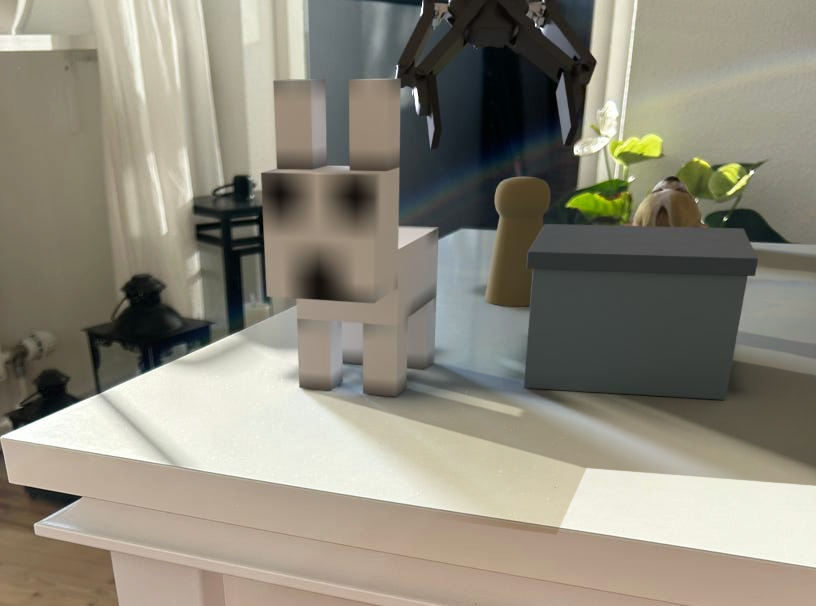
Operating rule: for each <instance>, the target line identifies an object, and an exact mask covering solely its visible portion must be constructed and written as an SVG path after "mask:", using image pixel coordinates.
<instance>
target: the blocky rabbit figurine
mask: <svg viewBox="0 0 816 606" xmlns="http://www.w3.org/2000/svg"><path fill="white" fill-rule="evenodd" d="M272 82H273V106H274V108H273V109H274V131H275V154H276V168H274V169H270V170H266V171H262V172H260V176H261V177H260V180H261V201H262V203H261V204H262V222H263V223H262V224H263V243H264V266H265V267H264V268H265V285H266V289H265V290H266V298H267V297H268V298H284V299H295V301H296V329H297V358H298V359H297V360H298V388H300V389H307V390H319V391H333V390H334V389H335V388H336V387H338V386H339V385H340V384H342V383H343V381H344V377H343V375H344V373H343V370H344V369H343V364H353V365H362V394H363V395H373V396H384V397H393V398H397V397H398V396H399V395H400V394H401V393H402V392H403V391H405V389H407V379H408V378H407V374H408V369H413V370H422V371H423V370H425V371H426V370H427V369H428V368H429V367H430V366H431V365H432V364H433V363H434V362H435V353H436V323H437V295H438V291H437V289H438V262H439V235H440V234H439V233H440V229H439V228H440V227H438V226H416V225H414V226H413V225H400V223H399V222H400V221H399V220H400V219H399V218H400V210H399V209H400V164H401V163H400V161H401V159H400V158H401V157H400V156H401V155H400V154H401V153H400V152H401V151H400V150H401V92H402V90H401V89H402V88H401V78H397V79H396V78H355V79H354V78H353V79H349V80H348V106H349V107H348V123H349V124H348V132H349V134H348V135H349V137H348V138H349V142H348V143H349V147H348V148H349V165H328V150H327V146H328V145H327V97H326V96H327V95H326V93H327V92H326V90H327V89H326V79H325V78H293V79H292V78H291V79H290V78H289V79H277V80H276V79H275V80H273V81H272Z"/></svg>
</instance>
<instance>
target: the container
mask: <svg viewBox="0 0 816 606" xmlns="http://www.w3.org/2000/svg"><path fill="white" fill-rule="evenodd" d="M758 262H759V257H758V256H757V254H756V252H755V250H754V248H753V246H752V243H751V241H750V239H749V237H748V235H747V233H746V230H745V228H738V227H737V228H735V227H733V228H732V227H710V228H697V227H653V226H621V225H603V224H565V223H564V224H561V223H559V224H558V223H545V224H543V228H542V230H541V231H540V233H539V235H538V236H537V238H536V240H535V241H534V243H533V245H532V246H531V248H530V250H529V251H528V256H527V269H533V274H532V287H531V300H530V306H529V313H528V315H529V316H528V326H527V327H528V328H527V341H526V353H525V365H524V377H523V378H524V379H523V388H524V389H536V390H550V391H551V390H552V391H568V392H582V393H583V392H584V393H585V392H586V393H600V394H601V393H602V394H603V393H604V394H616V395H617V394H618V395H633V396H634V395H635V396H650V397H652V396H653V397H667V398H668V397H669V398H683V399H684V398H686V399H701V400H715V401H716V400H719V401H725V400H726V398H727V394H728V388H729V384H730V377H731V371H732V366H733V361H734V356H735V351H736V344H737V337H738V331H739V327H740V323H741V322H740V321H741V317H742V310H743V309H742V308H743V305H744V299H745V293H746V289H747V284H748V283H747V282H748V277H755V276H756V273H757V268H758Z"/></svg>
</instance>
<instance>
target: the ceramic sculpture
mask: <svg viewBox="0 0 816 606" xmlns="http://www.w3.org/2000/svg"><path fill="white" fill-rule="evenodd" d="M701 221H702V212H701V210H700V208H699V206H698V203H697V201H696V198H695V197H694V196H693V194H691V192H690V190H689V187H688V186H687V184H686V183H685V182H684V181H683V180H682V179H680V178H679V177H678V176H674V175H670V176H667V177H665V178H664V179H662V180H661V181H659V182H658V183H657V184H656V185H655V186H654V187H653V188H652V190H651V192H650V193H648V194H647V196H646V197H645V198H644V199H643V201H642V202H641V203H640V204H639V205H638V207H637V209H636V212H635V214H634V216H633V219H632V220H631V221H629V222H624V223H621V224H620V226H653V227H697V228H711V226H710V225H709V224H705V223H703V222H701Z"/></svg>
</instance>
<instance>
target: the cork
mask: <svg viewBox="0 0 816 606" xmlns="http://www.w3.org/2000/svg"><path fill="white" fill-rule="evenodd" d="M550 188H551V187H550V186H549V184H548V182H547V181H546V180H545V179H541V178H539V177H534V176H514V177H510V178H505V179H503V180H502V181H500V182H499V183H498V185H497V187H496V190H495V193H494V206H495V210H496V212H497V213H498V215H499V219H498V224H497V228H496V235H495V240H494V245H493V251H492V257H491V263H490V267H489V268H490V269H489V274H488V278H487V285H486V290H485V295H484V301H485V302H487V303H489V304H493V305H498V306H503V307H504V306H505V307H530V300H531V287H532V274H533V269H527V256H528V251H529V250H530V248H531V246H532V245H533V243H534V241H535V240H536V238H537V236H538V235H539V233H540V231H541V230H542V228H543V227H544V216H545V214H546V213H547V211H548V210H549V207H550V203H551V196H552V195H551V189H550Z"/></svg>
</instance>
